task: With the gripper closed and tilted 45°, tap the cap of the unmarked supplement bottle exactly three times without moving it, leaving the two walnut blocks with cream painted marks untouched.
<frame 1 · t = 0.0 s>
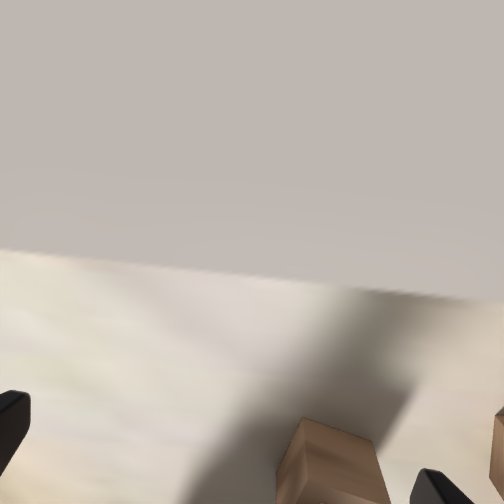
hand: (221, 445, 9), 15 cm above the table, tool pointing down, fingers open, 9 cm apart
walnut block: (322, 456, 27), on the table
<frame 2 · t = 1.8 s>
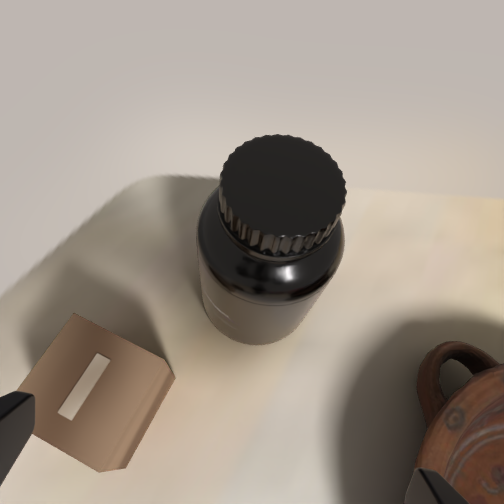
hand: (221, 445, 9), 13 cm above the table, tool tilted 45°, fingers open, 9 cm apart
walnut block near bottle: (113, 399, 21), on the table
supplement bottle: (255, 296, 25), on the table
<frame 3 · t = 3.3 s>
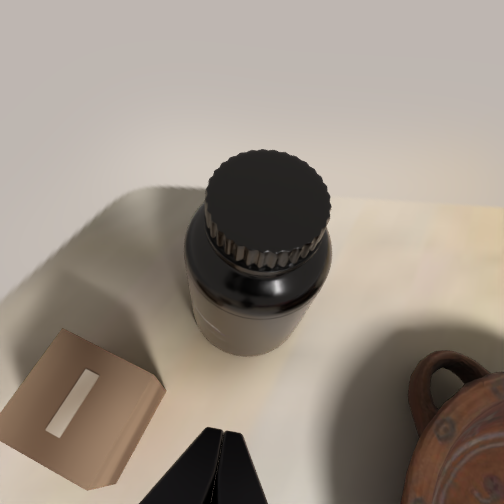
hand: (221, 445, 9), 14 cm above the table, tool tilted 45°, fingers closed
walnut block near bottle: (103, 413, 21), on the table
supplement bottle: (246, 307, 25), on the table
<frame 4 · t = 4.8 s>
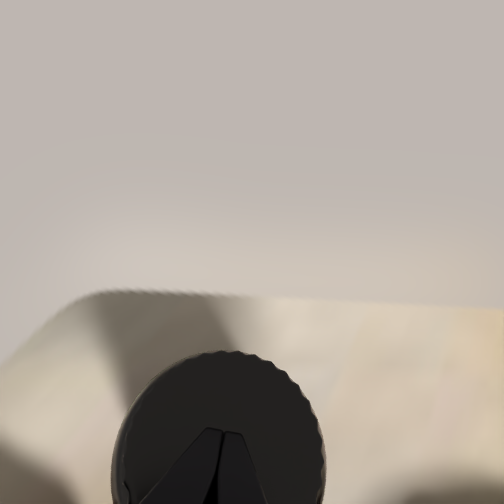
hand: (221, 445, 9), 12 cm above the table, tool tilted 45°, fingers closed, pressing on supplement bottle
supplement bottle: (218, 465, 19), on the table, touching gripper
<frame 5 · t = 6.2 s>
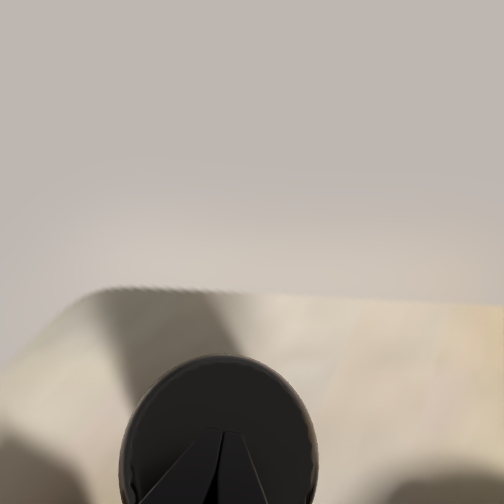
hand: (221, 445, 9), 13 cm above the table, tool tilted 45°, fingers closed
supplement bottle: (219, 454, 21), on the table
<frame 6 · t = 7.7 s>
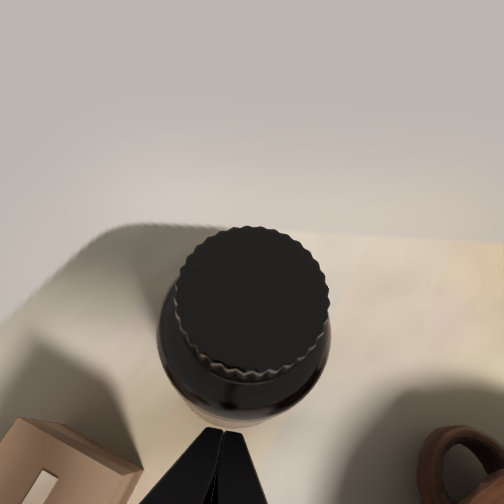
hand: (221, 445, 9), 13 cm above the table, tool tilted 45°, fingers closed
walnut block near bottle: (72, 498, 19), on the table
supplement bottle: (236, 366, 22), on the table
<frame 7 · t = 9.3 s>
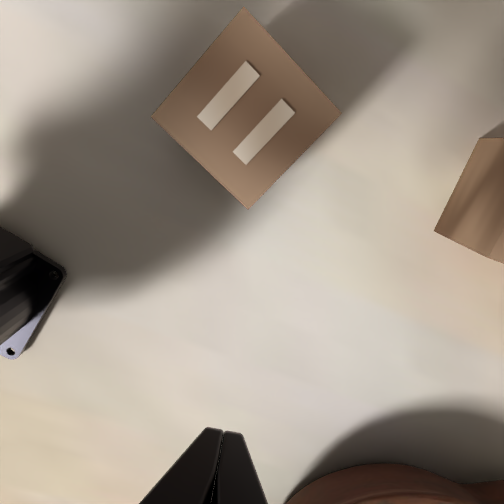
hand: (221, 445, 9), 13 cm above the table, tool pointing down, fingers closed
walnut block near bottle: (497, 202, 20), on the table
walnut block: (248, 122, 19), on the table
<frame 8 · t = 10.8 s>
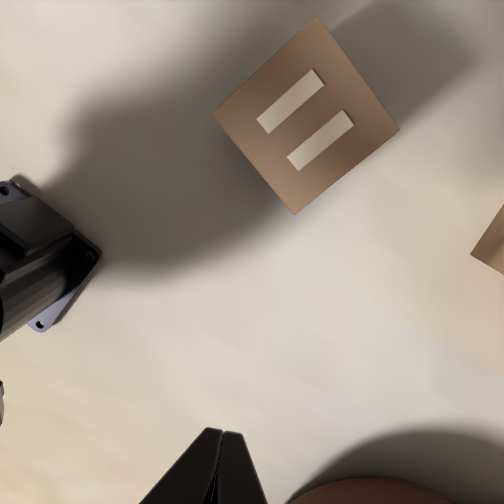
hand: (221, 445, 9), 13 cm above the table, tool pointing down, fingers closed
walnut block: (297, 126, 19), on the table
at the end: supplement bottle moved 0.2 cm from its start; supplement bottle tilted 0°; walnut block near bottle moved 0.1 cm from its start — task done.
